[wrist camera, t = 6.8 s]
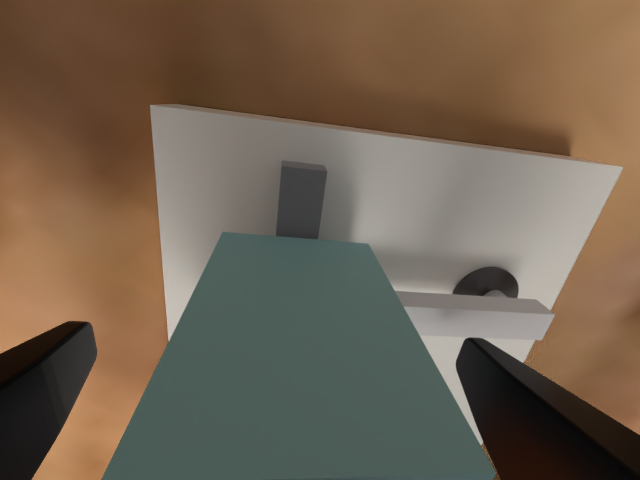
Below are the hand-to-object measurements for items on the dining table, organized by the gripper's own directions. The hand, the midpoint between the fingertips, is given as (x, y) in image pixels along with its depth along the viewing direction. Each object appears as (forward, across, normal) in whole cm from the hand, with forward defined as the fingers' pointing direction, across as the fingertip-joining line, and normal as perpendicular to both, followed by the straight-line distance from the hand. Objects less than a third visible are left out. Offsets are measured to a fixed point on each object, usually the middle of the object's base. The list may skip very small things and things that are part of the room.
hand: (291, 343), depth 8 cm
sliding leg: (+3, -3, 0) cm, 4 cm away
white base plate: (+5, -3, +5) cm, 8 cm away
